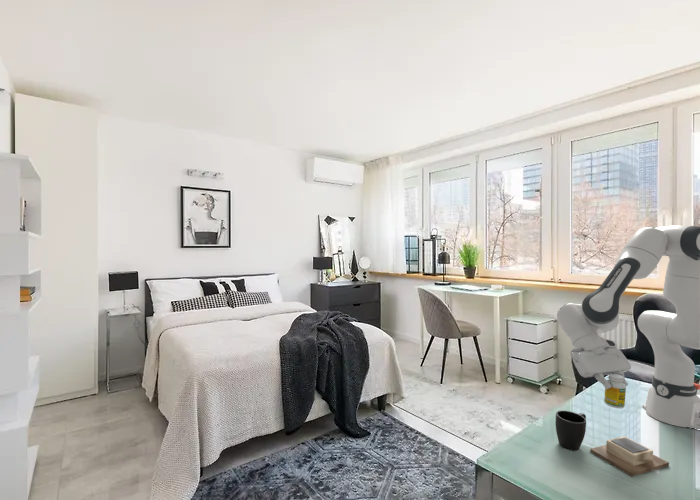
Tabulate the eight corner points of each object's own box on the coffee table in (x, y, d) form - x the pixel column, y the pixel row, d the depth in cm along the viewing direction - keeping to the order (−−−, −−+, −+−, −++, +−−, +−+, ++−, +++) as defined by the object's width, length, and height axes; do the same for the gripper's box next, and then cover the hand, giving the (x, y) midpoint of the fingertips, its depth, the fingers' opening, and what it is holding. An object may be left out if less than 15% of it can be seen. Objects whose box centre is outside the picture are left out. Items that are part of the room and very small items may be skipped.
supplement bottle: (608, 399, 122) (610, 371, 122) (627, 406, 118) (629, 377, 117) (600, 403, 119) (603, 374, 119) (620, 410, 115) (622, 380, 114)
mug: (596, 446, 116) (598, 417, 116) (574, 456, 111) (576, 425, 110) (570, 433, 124) (572, 406, 123) (548, 442, 118) (550, 413, 117)
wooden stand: (625, 443, 119) (626, 430, 119) (668, 465, 108) (669, 451, 107) (590, 451, 113) (591, 438, 113) (631, 476, 102) (632, 461, 102)
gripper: (574, 345, 121) (601, 386, 112) (618, 341, 127) (646, 380, 119) (561, 354, 125) (586, 394, 116) (604, 349, 132) (631, 387, 123)
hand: (617, 387), depth 118 cm, fingers closed on supplement bottle, 5 cm apart
